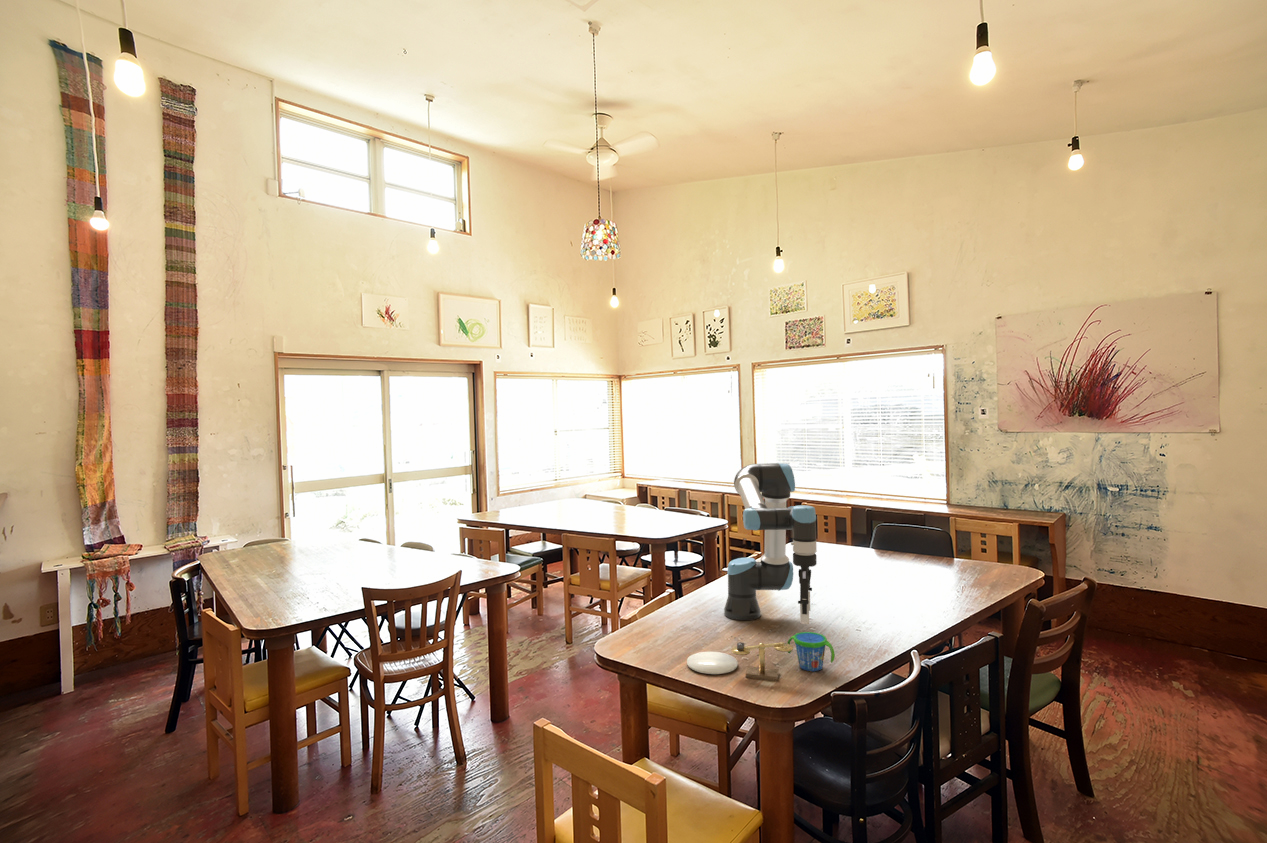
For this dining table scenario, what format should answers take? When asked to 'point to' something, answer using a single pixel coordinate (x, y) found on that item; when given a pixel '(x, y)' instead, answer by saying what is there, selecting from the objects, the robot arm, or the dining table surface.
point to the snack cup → (811, 650)
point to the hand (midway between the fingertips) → (805, 616)
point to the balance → (761, 659)
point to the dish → (712, 662)
